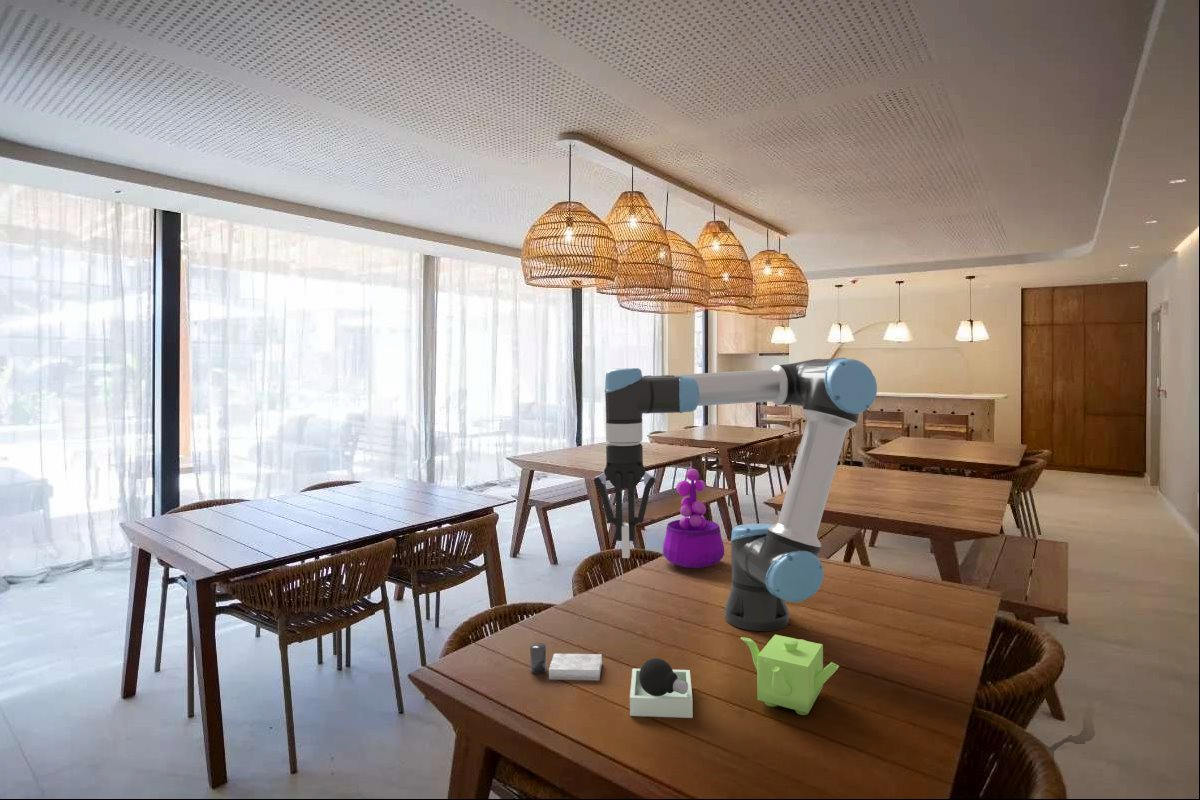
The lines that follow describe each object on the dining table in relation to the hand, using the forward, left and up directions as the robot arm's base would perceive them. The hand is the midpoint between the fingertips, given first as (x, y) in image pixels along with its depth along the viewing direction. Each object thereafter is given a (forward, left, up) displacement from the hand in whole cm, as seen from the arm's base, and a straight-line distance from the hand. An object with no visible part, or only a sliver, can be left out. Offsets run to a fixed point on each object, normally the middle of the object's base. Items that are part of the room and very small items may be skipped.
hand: (626, 556), depth 134 cm
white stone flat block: (+10, +5, -23) cm, 26 cm away
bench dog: (+18, +5, -22) cm, 29 cm away
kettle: (-30, +14, -23) cm, 40 cm away
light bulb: (-8, +17, -21) cm, 28 cm away
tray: (-7, +16, -22) cm, 28 cm away
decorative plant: (-17, -66, -23) cm, 72 cm away
